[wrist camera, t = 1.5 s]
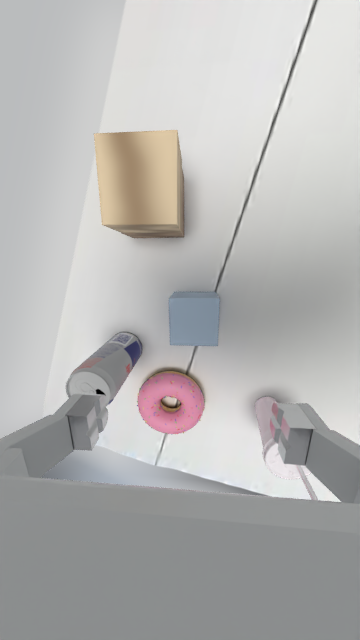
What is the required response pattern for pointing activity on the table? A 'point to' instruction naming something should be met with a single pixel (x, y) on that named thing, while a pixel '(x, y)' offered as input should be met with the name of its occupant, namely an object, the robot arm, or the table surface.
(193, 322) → the blue block
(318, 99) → the table surface
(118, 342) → the energy drink
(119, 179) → the tower top
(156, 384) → the doughnut
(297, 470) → the smoothie
